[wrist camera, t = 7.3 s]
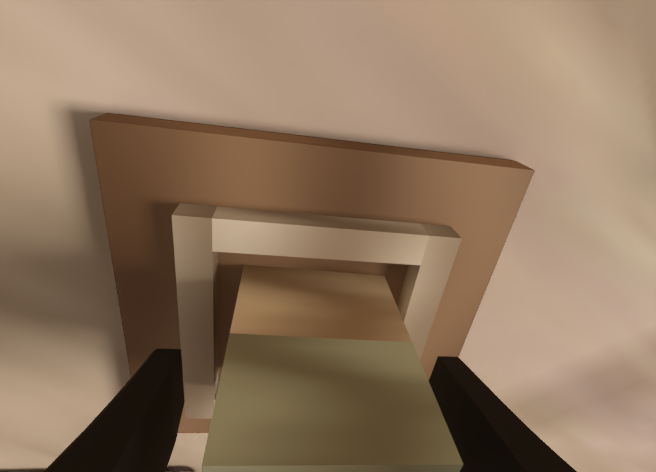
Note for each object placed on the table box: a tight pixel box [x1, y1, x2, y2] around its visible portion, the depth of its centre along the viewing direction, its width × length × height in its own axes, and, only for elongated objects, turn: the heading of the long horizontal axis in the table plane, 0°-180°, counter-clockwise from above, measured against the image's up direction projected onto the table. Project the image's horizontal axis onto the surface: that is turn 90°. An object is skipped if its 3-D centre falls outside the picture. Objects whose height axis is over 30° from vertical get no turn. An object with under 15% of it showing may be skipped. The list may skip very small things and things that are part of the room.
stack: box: [202, 264, 463, 472], centre depth 10 cm, size 4×4×6 cm
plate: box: [90, 113, 535, 433], centre depth 12 cm, size 12×12×2 cm
